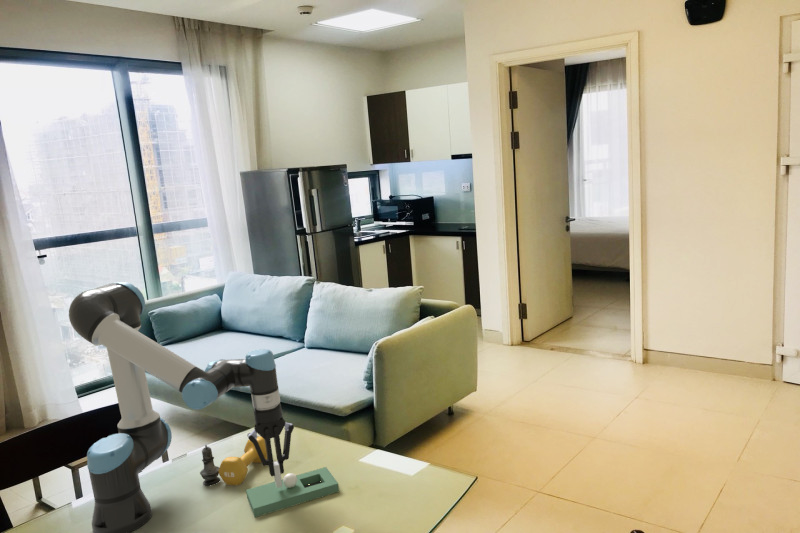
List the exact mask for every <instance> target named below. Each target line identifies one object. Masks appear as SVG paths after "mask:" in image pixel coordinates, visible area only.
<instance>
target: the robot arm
mask: <svg viewBox="0 0 800 533" xmlns="http://www.w3.org/2000/svg"><path fill="white" fill-rule="evenodd" d="M141 291H142V290H140V289H139V288H138V287H137V286H135V285H134V284H132V283H131V282H130V283H129V282H127V281H118V282H112V283H108V284H105V285H104V284H103V285H102V286H99V287H96V288H93V289H88V290H85V291H82V292H81V293H79V294H77V295H76V296H75V298H74V299H73V300H72V301H71V303H70V305H69V309H68V319H69V322H70V324H71V326H72V328H73V329H74V331H75V332H76V333H77V334H78V335H79V336H80V337H81V338H83V339H84V340H85V341H88V342H89V343H91V344H92V345H93V346H97V347H98V346H103V347H105V348H106V350H107V355H108V359H109V364H110V370H111V374H112V379H113V383H114V388H115V393H116V398H117V402H118V407H119V412H120V415H121V419H120V420H119V422H118V423H117V431H118V433H112V434H109V435H108V436H107V437H102V438H100V439H99V440H97V441H96V442H94V443H93V444H92V445H91V446H90V447H89V448H88V450H87V453H86V460H87V462H86V464H87V465H86V466H87V470H88V475H89V478H90V483H91V488H92V494H93V498H94V507H93V513H92V520H91V527H92V533H130V532H134V531H135V530H137V529H139V528H141V527H143V526H144V525H145V524H147V523H148V522H149V520H151V518H152V515H153V511H152V506H151V503H150V502H149V500H148V498H147V496H146V495H145V493H144V492H143V490H142V488H141V483H140V477H139V473H141V472H142V471H144V470H145V469H146V468H147V467H148V466H150V465H151V464H152V463H153V462H155V461H157V460H159V459H161V457H162V456H163V455H164V454H165V453H166V452H167V451H168V449H169V448H170V446H171V443H172V437H173V435H172V429H171V427H170V425H169V423H167V422H166V420H165V419H164V418H162V417H161V415H160V413H159V412H157V411H155V410H154V409H153V405H152V400H151V394H150V388H149V386H148V384H149V383H148V380H147V374H146V373H148V374H149V375H151V376H152V377H155V378H156V379H158V380H160V381H161V382H163V383H164V384H166V385H168V386H169V387H171V388H172V389H174V390H176V391H178V392H179V393H181V398H182V400H183V402H184V404H185V406H187V408H189V409H191V410H197V411H198V410H203V409H205V408H206V407H208V406H210V405H212V404H214V402H215V401H217V399H219V398H220V397H221V396H224V394H226V393H227V392H229V391H230V390H231V389H232V388H239V387H240V388H241V387H243V388H244V387H249V389H250V394H251V395H250V396H251V402H252V407H253V408H254V409H253V415H254V422H255V425H254V430H252V431H251V432H249V433H247V437H248V440H250V441H251V442H252V443H253V444H254V446H255V449H256V451H257V453H258V455H259V458H260V460H261V462H262V463H261V465H262V466H263V467H266V466H268V470H269V475H270V476H271V477H273V478H274V482H275V484H276V486H277V488H278V487H282V475H283V474H284V473H285V468H284V462H285V461H287V460H289V459H290V452H291V450H290V449H291V440H292V434H293V431H294V429H295V426H294V425H293V423H292V422H286V420H285V419H284V417H283V410H282V405H281V396H280V390H279V384H278V376H277V364H276V362H275V357H274V353H273V352H272V350H270V349H265V348H262V349H254V350H251V351H248V352H247V353H246V355H245V358H241V359H240V358H239V359H223V358H222V359H219V360H211V361H210V362H208V363H207V366H206V367H205V370H203V369H202V368H200V367H197V366H196V365H195V364H193V363H191V362H190V361H188V360H186V359H185V358H183V357H181V356H180V355H178V354H176V353H174V352H173V351H171V350H170V349H168V348H167V347H166V346H163V345H162V344H160V343H158V342H156V340H153V339H151V338H150V337H148V336H146V335H145V334H143V333H142V332H140V331H139V330H140V329H141V327H142V323H141V315H142V314H143V313H144V311H145V308H146V300H145V296H144V295H143V293H142V292H141ZM283 429H284V440H283V450H282V446H281V438H280V435H281V433H282V432H283ZM258 435H259V436H261V437H262V438H264V440H265V446H266V453H267V459H265V457H264V455H263V453H262V450H261V448H260V446H259V444H258V442H257V440H256V439H257V436H258ZM272 438H273V441H274V442H273V443H274V448H275V449H274V450H275V454H276V461H274V455H273V451H272V449H273V448H272V443H271V442H272Z"/></svg>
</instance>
